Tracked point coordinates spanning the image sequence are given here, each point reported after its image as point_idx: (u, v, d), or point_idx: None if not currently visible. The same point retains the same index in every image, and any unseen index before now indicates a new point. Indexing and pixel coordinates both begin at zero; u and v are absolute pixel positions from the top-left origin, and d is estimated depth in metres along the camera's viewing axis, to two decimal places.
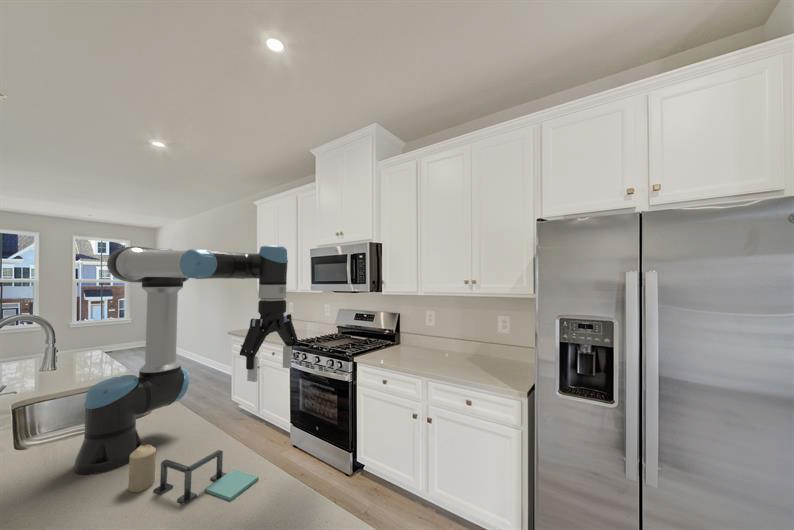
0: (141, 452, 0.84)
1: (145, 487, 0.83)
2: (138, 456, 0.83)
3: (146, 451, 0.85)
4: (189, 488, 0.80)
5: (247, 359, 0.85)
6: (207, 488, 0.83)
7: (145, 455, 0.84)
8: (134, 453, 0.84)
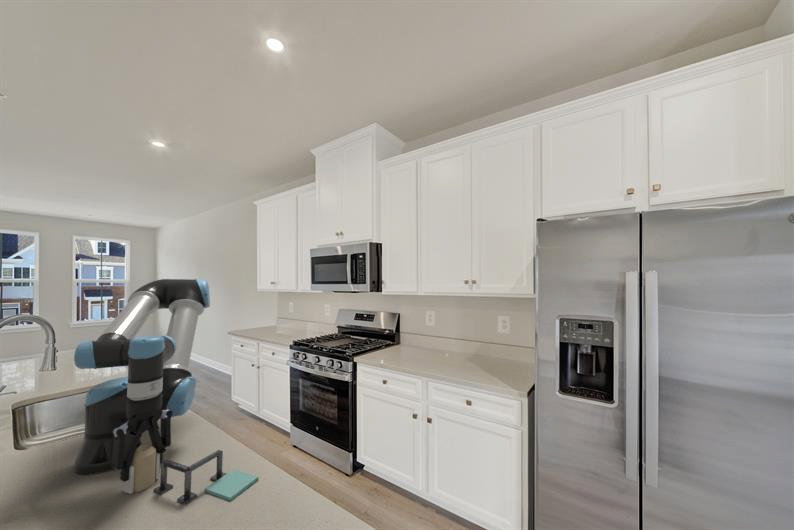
0: (141, 452, 0.84)
1: (145, 487, 0.83)
2: (138, 456, 0.83)
3: (146, 451, 0.84)
4: (189, 488, 0.80)
5: (121, 470, 0.81)
6: (207, 488, 0.83)
7: (145, 455, 0.84)
8: None
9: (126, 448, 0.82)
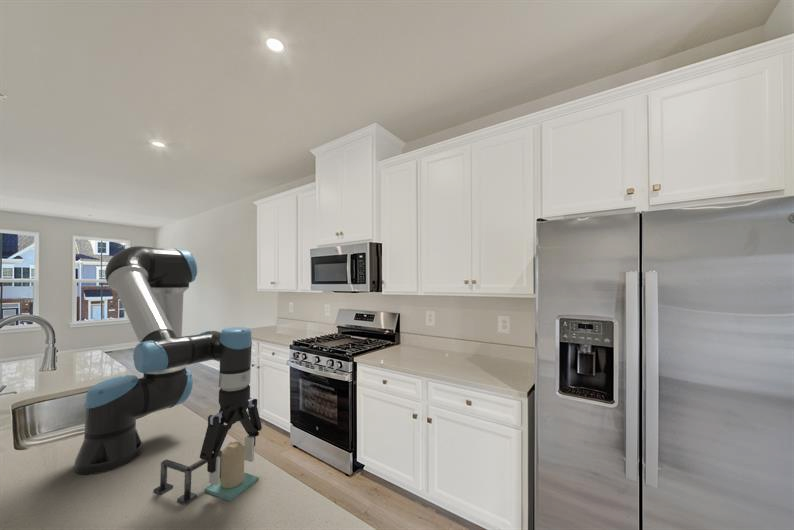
0: (233, 449, 0.84)
1: (237, 484, 0.84)
2: (231, 453, 0.83)
3: (237, 448, 0.85)
4: (189, 488, 0.80)
5: (208, 461, 0.79)
6: (207, 488, 0.83)
7: (237, 451, 0.84)
8: (226, 450, 0.84)
9: None
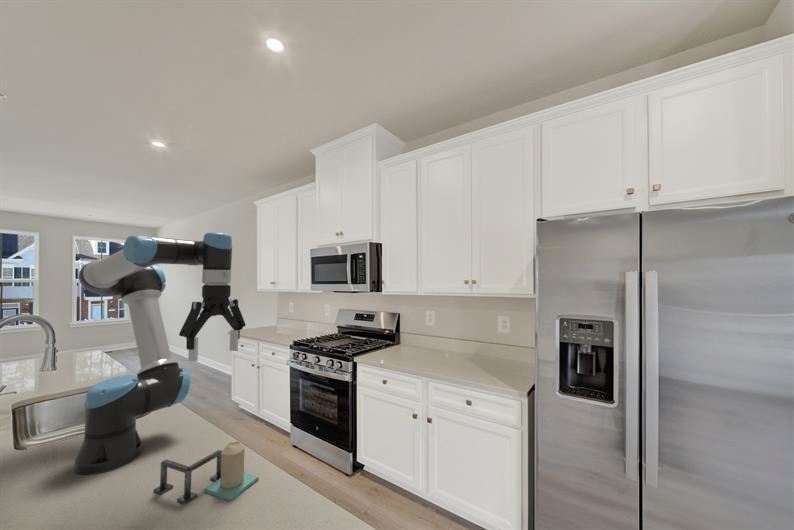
0: (233, 449, 0.84)
1: (237, 484, 0.84)
2: (231, 453, 0.83)
3: (237, 448, 0.85)
4: (189, 488, 0.80)
5: (187, 340, 0.89)
6: (207, 488, 0.83)
7: (237, 452, 0.84)
8: (226, 450, 0.84)
9: (195, 322, 0.92)
